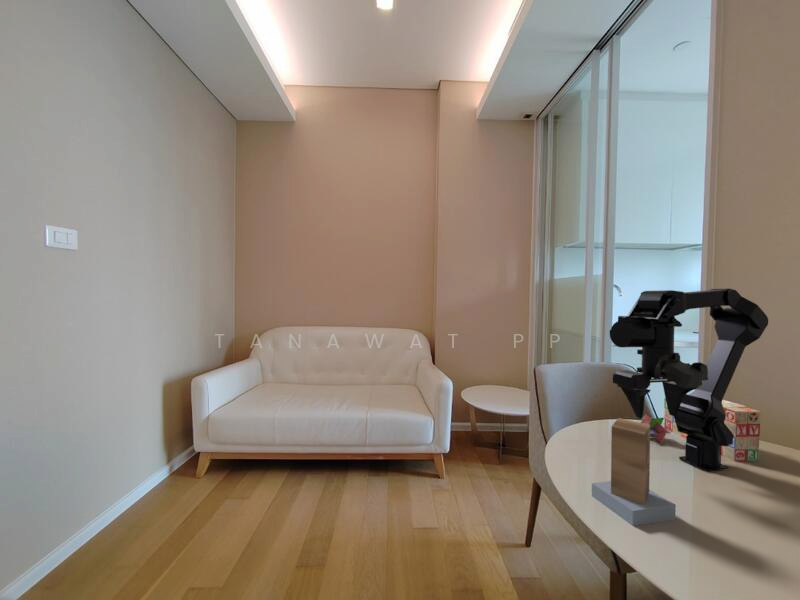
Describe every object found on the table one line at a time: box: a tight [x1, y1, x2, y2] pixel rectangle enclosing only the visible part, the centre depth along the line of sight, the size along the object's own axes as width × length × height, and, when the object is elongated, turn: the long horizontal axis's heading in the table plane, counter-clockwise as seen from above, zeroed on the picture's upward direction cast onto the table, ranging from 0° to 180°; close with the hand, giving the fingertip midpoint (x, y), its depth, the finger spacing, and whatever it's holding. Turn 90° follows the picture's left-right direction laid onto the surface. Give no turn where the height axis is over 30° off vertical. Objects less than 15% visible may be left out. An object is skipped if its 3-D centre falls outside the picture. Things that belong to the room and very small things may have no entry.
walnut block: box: [610, 417, 651, 505], centre depth 64 cm, size 5×5×12 cm
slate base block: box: [591, 480, 676, 527], centre depth 64 cm, size 9×9×3 cm
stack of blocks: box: [663, 397, 761, 462], centre depth 94 cm, size 21×6×12 cm, turn 3°
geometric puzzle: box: [639, 413, 671, 444], centre depth 95 cm, size 7×7×8 cm
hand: (656, 416), depth 78 cm, fingers open, 9 cm apart
